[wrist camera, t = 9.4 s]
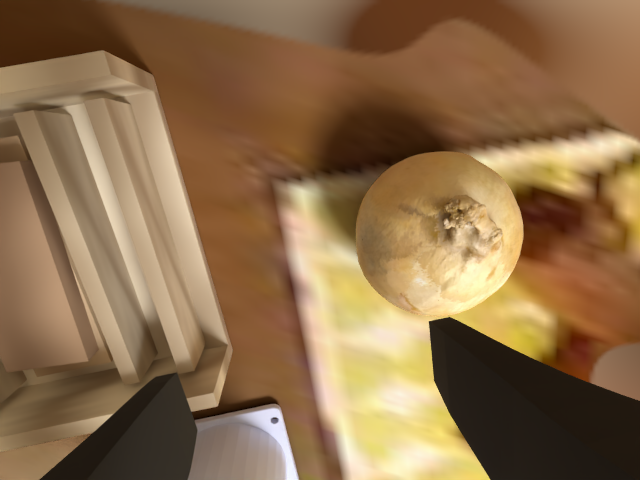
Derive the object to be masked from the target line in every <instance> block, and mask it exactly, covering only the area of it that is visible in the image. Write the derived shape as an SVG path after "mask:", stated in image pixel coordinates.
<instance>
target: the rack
mask: <svg viewBox="0 0 640 480" xmlns="http://www.w3.org/2000/svg"><path fill="white" fill-rule="evenodd" d="M17 135H21V136H22V137H23V139H24V142H25V144H26V147H27V149H28V152H29V154H30V156H31V159H32V161H33V164H34V166H35V169H36V171H37V174H38V176H39V178H40V181H41V183H42V186H43V188H44V191H45V193H46V195H47V198H48V200H49V203H50V205H51V208H52V210H53V213H54V215H55V217H56V220H57V222H58V225H59V227H60V230H61V232H62V235H63V237H64V239H65V242H66V244H67V247H68V249H69V252H70V254H71V257H72V259H73V261H74V264H75V266H76V269H77V271H78V274H79V276H80V279H81V281H82V283H83V286H84V288H85V291H86V293H87V296H88V298H89V300H90V303H91V305H92V308H93V310H94V313H95V315H96V318H97V320H98V322H99V325H100V327H101V330H102V332H103V335H104V337H105V340H106V342H107V344H108V347H109V349H110V352H111V354H112V357H113V360H112V362H109V363H104V364H99V365H94V366H89V367H84V368H80V369H75V370H70V371H65V372H60V373H55V374H50V375H45V376H40V377H37V376H36V374H35V372H34V370H33V369H29V370H22V371H15V372H8V373H7V372H6V370H5V367H4V365H3V363H2V360H1V358H0V452H3V451H8V450H13V449H18V448H22V447H27V446H32V445H37V444H41V443H46V442H51V441H56V440H60V439H65V438H70V437H75V436H79V435H84V434H89V433H93V432H94V431H96V430H97V429H98V428H99V427H100V426H101V425H102V424H103V423H104V422H105V421H106V420H107V419H109V418H110V417H111V416H112V415H113V414H114V413H115V412H116V411H117V410H118V409H119V408H120V407H122V406H123V405H124V404H125V403H126V402H127V401H128V400H129V399H130V398H131V397H132V396H133V395H135V394H136V393H137V392H138V391H139V390H140V389H141V388H142V387H144V386H145V385H146V384H147V383H148V382H149V381H151V380H152V379H153V378H154V377H156V376H161V375H166V374H171V373H176V372H177V373H178V376H179V379H180V382H181V384H182V387H183V390H184V393H185V396H186V398H187V401H188V404H189V407H190V410H191V412H193V411H198V410H203V409H208V408H212V407H217V406H218V404H219V400H220V397H221V393H222V389H223V385H224V382H225V378H226V374H227V371H228V367H229V363H230V359H231V356H232V352H233V350H232V346H231V343H230V339H229V336H228V332H227V329H226V325H225V322H224V318H223V315H222V311H221V308H220V305H219V301H218V298H217V294H216V291H215V287H214V284H213V280H212V277H211V273H210V270H209V267H208V263H207V260H206V256H205V253H204V249H203V246H202V242H201V239H200V235H199V232H198V229H197V225H196V222H195V218H194V215H193V211H192V208H191V204H190V201H189V197H188V194H187V191H186V187H185V184H184V180H183V177H182V173H181V170H180V166H179V163H178V159H177V156H176V152H175V149H174V146H173V142H172V139H171V135H170V132H169V128H168V125H167V121H166V118H165V114H164V111H163V108H162V104H161V101H160V97H159V94H158V90H157V87H156V83H155V80H154V76H153V75H152V74H150V73H148V72H146V71H144V70H142V69H140V68H138V67H136V66H134V65H132V64H130V63H128V62H126V61H124V60H122V59H120V58H118V57H116V56H114V55H112V54H110V53H108V52H106V51H104V50H102V51H96V52H90V53H84V54H78V55H73V56H67V57H61V58H55V59H49V60H43V61H37V62H32V63H26V64H20V65H14V66H8V67H2V68H0V138H6V137H11V136H17Z"/></svg>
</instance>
